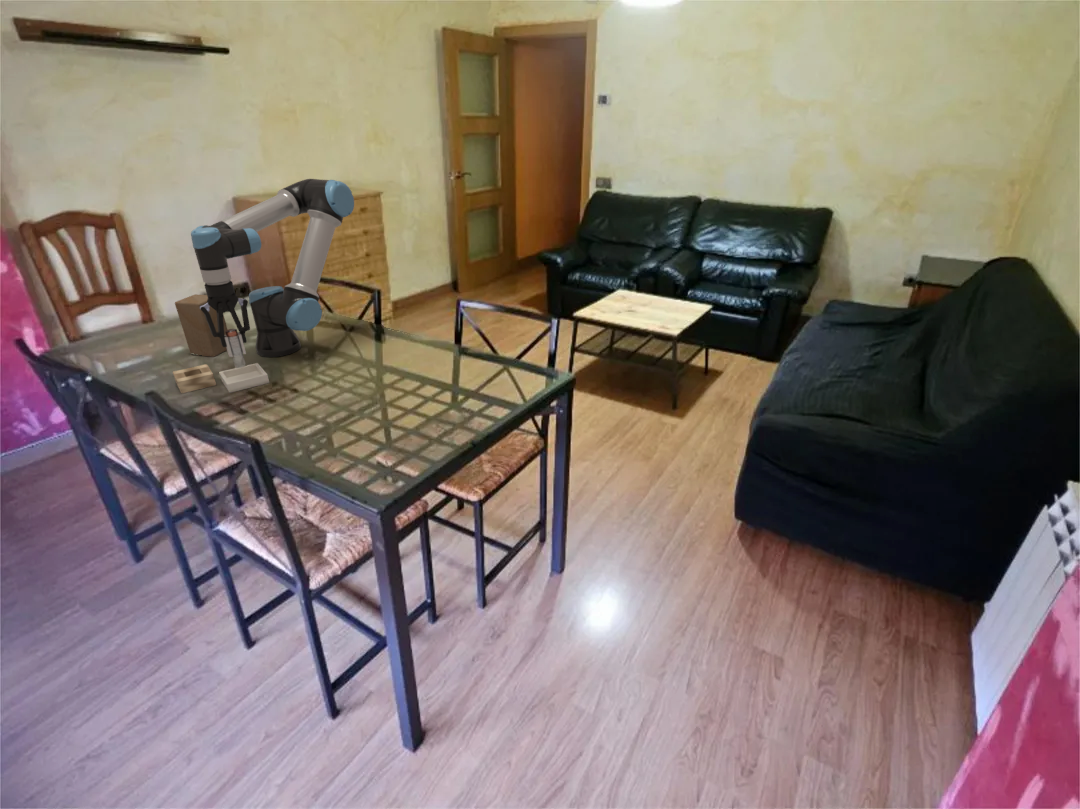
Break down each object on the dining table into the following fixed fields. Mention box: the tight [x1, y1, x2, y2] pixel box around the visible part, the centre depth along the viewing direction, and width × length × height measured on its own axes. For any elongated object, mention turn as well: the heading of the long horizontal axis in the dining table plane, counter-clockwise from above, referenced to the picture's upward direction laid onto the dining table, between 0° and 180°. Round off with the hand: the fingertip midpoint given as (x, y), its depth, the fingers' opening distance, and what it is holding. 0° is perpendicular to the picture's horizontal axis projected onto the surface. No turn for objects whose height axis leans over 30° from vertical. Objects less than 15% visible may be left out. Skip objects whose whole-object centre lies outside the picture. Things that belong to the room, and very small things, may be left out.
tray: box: [218, 362, 270, 394], centre depth 184 cm, size 12×12×3 cm
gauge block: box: [172, 363, 217, 394], centre depth 182 cm, size 10×10×4 cm
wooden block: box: [174, 294, 228, 358], centre depth 204 cm, size 10×10×20 cm
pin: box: [225, 328, 247, 368], centre depth 179 cm, size 3×3×12 cm
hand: (237, 353), depth 180 cm, fingers closed on pin, 3 cm apart
